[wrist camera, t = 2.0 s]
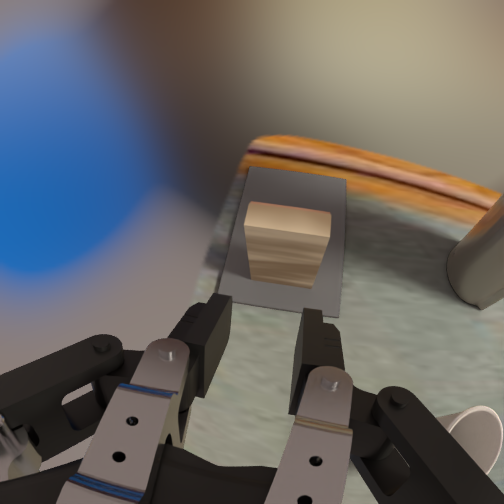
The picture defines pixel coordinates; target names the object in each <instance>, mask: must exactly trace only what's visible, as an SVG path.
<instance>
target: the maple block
mask: <svg viewBox="0 0 504 504" xmlns="http://www.w3.org/2000/svg"><path fill="white" fill-rule="evenodd" d="M244 230H245V237H246V245H247V252H248V260H249V267H250V275H251V280H255V281H261V282H268V283H274V284H281V285H287V286H294V287H301V288H308V289H312V286H313V283H314V281H315V278H316V275H317V272H318V270H319V267H320V264H321V261H322V259H323V256H324V253H325V250H326V247H327V244H328V242H329V239H330V230H331V215H330V212H325V211H319V210H312V209H305V208H298V207H291V206H284V205H276V204H269V203H261V202H253V201H251V203H249V205H248V210H247V214H246V218H245V222H244Z"/></svg>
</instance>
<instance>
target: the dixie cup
mask: <svg viewBox="0 0 504 504" xmlns="http://www.w3.org/2000/svg"><path fill="white" fill-rule="evenodd" d="M436 419H437V420H438V421H439V422H440V423H441V424H442V426H443V427H444V428H445V429H446V430H447V431H448V432H449V433H450V434H451V435H452V437H453V438H454V439H455V440H456V441H457V442H458V443H459V444H460V445H461V447H462V448H463V449H464V450H465V451H466V452H467V453H468V454H469V456H470V457H471V458H472V459H473V460H474V461H475V462H476V463H477V465H478V466H479V467H480V468H481V469H482V470H483V471H484V473H485V474H486V475H487V474H488V473H489V471H490V470H491V469H492V467H493V465H494V464H495V462H496V460H497V458H498V455H499V453H500V450H501V446H502V440H503V429H502V424H501V421H500V418H499V417H498V415H497V414H496V412H495V411H494V410H492V409H491V408H489V407H486V406H474V407H471V408H468V409H466V410H465V411H463V412H459V413H455V414H451V415H447V416H442V417H437V418H436Z"/></svg>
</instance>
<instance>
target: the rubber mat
mask: <svg viewBox="0 0 504 504" xmlns="http://www.w3.org/2000/svg"><path fill="white" fill-rule="evenodd" d="M251 201H253V202H261V203H269V204H276V205H284V206H291V207H298V208H305V209H312V210H319V211H325V212H330V215H331V230H330V239H329V242H328V244H327V247H326V250H325V253H324V256H323V259H322V261H321V264H320V267H319V270H318V272H317V275H316V278H315V281H314V283H313V286H312V289H308V288H301V287H294V286H287V285H281V284H274V283H268V282H261V281H255V280H251V275H250V267H249V260H248V252H247V245H246V237H245V230H244V222H245V218H246V214H247V210H248V205H249V203H251ZM345 220H346V179H341V178H335V177H329V176H322V175H316V174H309V173H302V172H294V171H287V170H279V169H270V168H261V167H252V166H250V167H249V171H248V175H247V179H246V183H245V187H244V190H243V194H242V198H241V202H240V206H239V210H238V214H237V218H236V222H235V226H234V229H233V233H232V237H231V241H230V245H229V250H228V254H227V258H226V262H225V266H224V270H223V274H222V278H221V282H220V286H219V291H218V294H223V295H229V296H232V302H234V303H240V304H246V305H252V306H258V307H264V308H270V309H277V310H283V311H290V312H296V313H302V312H303V308H311V309H318V310H322V315H323V316H325V317H332V318H339V312H340V301H341V290H342V277H343V262H344V244H345Z"/></svg>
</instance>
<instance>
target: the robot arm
mask: <svg viewBox="0 0 504 504" xmlns="http://www.w3.org/2000/svg"><path fill="white" fill-rule="evenodd" d="M447 274H448V277H449V281H450V283H451V285H452V287H453V289H454V291H455V292H456V293H457V295H458V296H459V297H460V298H461V299H463V300H464V301H465V302H467V303H469V304H473V305H476V306H478V307H479V308H480V309H481V310H484V309H486V308H487V307H489V306H491V305H492V304H494V303H496V302H497V301H499V300H501V299H502V298H504V193H503V194H502V196H501V197H500V198H499V199H498V200H497V202H496V203H495V204H494V205H493V206H492V207H491V209H490V210H489V211H488V212H487V213H486V214H485V215H484V217H483V218H482V219H481V220H480V221H479V222H478V223H477V224H476V225H475V226H474V228H473V229H472V230H471V231H470V232H469V233H468V234H467V235H466V236H465V237H464V238H463V239H462V240H461V241H460V242H459V243H458V244H457V245H456V247H455V248H454V249H453V250H452V251H451V252H450V254H449V257H448V260H447ZM231 314H232V296H229V295H223V294H218V293H213V294H212V296H211V297H210V299H209V300H208V302H207V304H205V303H200V302H198V303H197V304H195V305H193V306H191V307H189V309H188V310H187V311H186V313H185V314H184V316H183V317H182V318H181V320H180V321H179V322H178V324H177V325H176V326H175V328H174V329H173V331H172V332H171V333H170V335H169V336H168V338H163V339H158V340H155V341H153V342H151V343H150V344H149V345H148V346H147V348H146V350H145V351H135V350H123V347H122V343H121V341H120V340H119V339H118V338H117V337H115V336H112V335H107V334H100V335H95V336H92V337H89V338H87V339H85V340H82V341H80V342H78V343H75V344H73V345H71V346H68V347H66V348H64V349H62V350H59V351H57V352H54V353H52V354H50V355H47V356H45V357H43V358H40V359H38V360H35V361H33V362H31V363H28V364H26V365H23V366H21V367H19V368H16V369H14V370H11V371H9V372H7V373H4V374H2V375H0V504H341V503H342V498H343V493H344V488H345V482H346V476H347V470H348V464H349V458H350V459H351V460H352V462H353V464H354V465H355V467H356V468H357V470H358V472H359V473H360V475H361V476H362V478H363V480H364V481H365V483H366V484H367V486H368V488H369V489H370V491H371V492H372V494H373V495H374V497H375V499H376V500H377V502H378V503H379V504H504V494H503V493H502V492H501V491H500V490H499V489H498V487H497V486H496V485H495V484H494V483H493V482H492V481H491V479H490V478H489V477H488V476H487V475H486V474H485V473H484V471H483V470H482V469H481V468H480V467H479V466H478V465H477V463H476V462H475V461H474V460H473V459H472V458H471V457H470V456H469V454H468V453H467V452H466V451H465V450H464V449H463V448H462V447H461V445H460V444H459V443H458V442H457V441H456V440H455V439H454V438H453V437H452V435H451V434H450V433H449V432H448V431H447V430H446V429H445V428H444V427H443V426H442V424H441V423H440V422H439V421H438V420H437V419H436V418H435V417H434V416H433V415H432V413H431V412H430V411H429V410H428V409H427V408H426V407H425V406H424V405H423V404H422V403H421V401H420V400H419V399H418V398H417V397H416V396H415V395H414V394H413V393H412V392H410V391H409V390H407V389H405V388H402V387H397V386H389V387H386V388H383V389H382V390H381V391H380V392H379V393H378V395H375V394H372V393H369V392H365V391H363V390H360V389H358V388H356V387H355V386H354V385H353V380H352V378H351V377H350V375H349V374H348V373H347V372H345V367H344V359H343V352H342V345H341V338H340V332H339V330H338V329H337V328H336V327H335V325H334V324H329V323H323V315H322V310H318V309H311V308H303V312H302V317H301V322H300V327H299V332H298V336H297V341H296V347H295V353H294V364H293V374H292V384H291V394H290V403H289V413H288V414H290V415H296V416H295V421H294V424H293V427H292V430H291V433H290V436H289V439H288V442H287V444H286V447H285V450H284V453H283V456H282V459H281V461H280V464H279V467H278V468H272V467H265V466H241V467H225V466H217V465H215V464H212V463H210V462H208V461H206V460H204V459H202V458H200V457H198V456H196V455H194V454H192V453H190V452H188V451H186V450H184V449H183V448H184V443H185V438H186V433H187V429H188V424H189V419H190V414H191V404H192V402H193V400H194V398H195V396H196V397H200V398H205V395H206V393H207V391H208V388H209V386H210V383H211V381H212V379H213V376H214V374H215V372H216V369H217V367H218V365H219V362H220V360H221V357H222V355H223V353H224V350H225V348H226V346H227V343H228V339H229V335H230V326H231ZM89 383H91V384H92V388H93V390H92V391H90V392H88V393H86V394H84V395H82V396H81V397H79V398H76V399H74V400H72V401H70V402H69V403H66V404H64V405H62V400H63V398H64V397H65V396H66V395H67V394H69V393H71V392H73V391H75V390H77V389H79V388H81V387H83V386H85V385H87V384H89ZM92 435H94V436H93V438H92V440H91V443H90V445H89V447H88V449H87V451H86V454H85V456H84V458H82V459H79V460H76V461H73V462H70V463H67V464H64V465H60V466H57V467H54V468H51V469H48V470H44V471H41V472H40V470H39V468H40V466H41V463H42V462H44V461H46V460H48V459H50V458H52V457H54V456H55V455H57V454H59V453H61V452H63V451H65V450H67V449H69V448H70V447H72V446H74V445H76V444H78V443H79V442H81V441H83V440H85V439H86V438H88V437H90V436H92ZM394 447H396V448H397V450H398V451H399V452H400V454H401V455H402V456H403V458H404V459H405V460H406V462H407V463H408V465H409V466H408V465H407V464H406V462H405V461H404V460H403V458H402V457H401V456H400V454H399V453H398V452H397V450H396V449H395V448H394ZM409 467H410V468H409Z"/></svg>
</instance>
